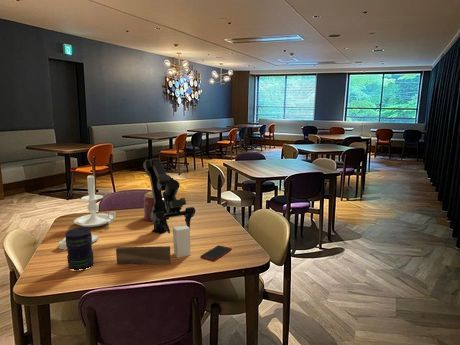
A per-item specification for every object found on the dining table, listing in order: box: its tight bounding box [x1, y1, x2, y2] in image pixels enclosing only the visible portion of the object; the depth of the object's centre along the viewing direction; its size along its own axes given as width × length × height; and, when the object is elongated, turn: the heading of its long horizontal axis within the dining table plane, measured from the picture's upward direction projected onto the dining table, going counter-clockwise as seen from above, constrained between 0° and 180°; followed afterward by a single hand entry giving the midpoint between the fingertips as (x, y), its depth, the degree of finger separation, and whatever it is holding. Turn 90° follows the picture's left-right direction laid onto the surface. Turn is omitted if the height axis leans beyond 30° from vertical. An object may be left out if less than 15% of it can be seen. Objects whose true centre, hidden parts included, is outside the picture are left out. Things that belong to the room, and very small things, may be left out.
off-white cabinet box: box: [172, 224, 192, 259], centre depth 157 cm, size 5×6×12 cm
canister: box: [142, 190, 164, 222], centre depth 207 cm, size 13×13×18 cm
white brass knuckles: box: [58, 233, 100, 250], centre depth 171 cm, size 3×18×15 cm
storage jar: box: [64, 227, 95, 270], centre depth 146 cm, size 10×10×15 cm
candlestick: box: [73, 174, 117, 228], centre depth 195 cm, size 21×25×28 cm
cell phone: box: [200, 244, 233, 262], centre depth 159 cm, size 8×15×1 cm, turn 148°
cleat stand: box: [115, 245, 172, 265], centre depth 153 cm, size 11×22×7 cm, turn 91°
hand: (179, 231), depth 158 cm, fingers open, 9 cm apart
